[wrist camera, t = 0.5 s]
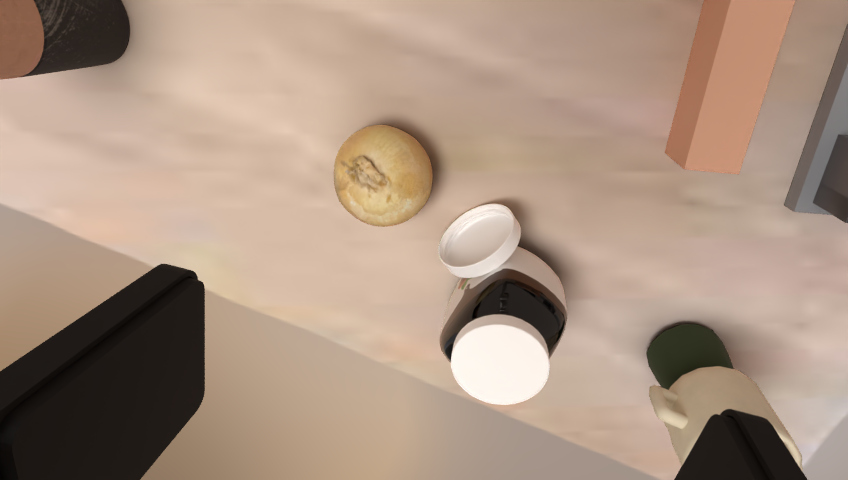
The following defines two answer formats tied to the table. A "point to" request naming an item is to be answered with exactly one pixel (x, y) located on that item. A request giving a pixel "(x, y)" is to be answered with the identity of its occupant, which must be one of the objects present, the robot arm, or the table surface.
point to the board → (822, 136)
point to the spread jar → (499, 308)
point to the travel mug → (60, 35)
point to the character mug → (702, 387)
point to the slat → (726, 82)
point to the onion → (382, 175)
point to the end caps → (835, 181)
